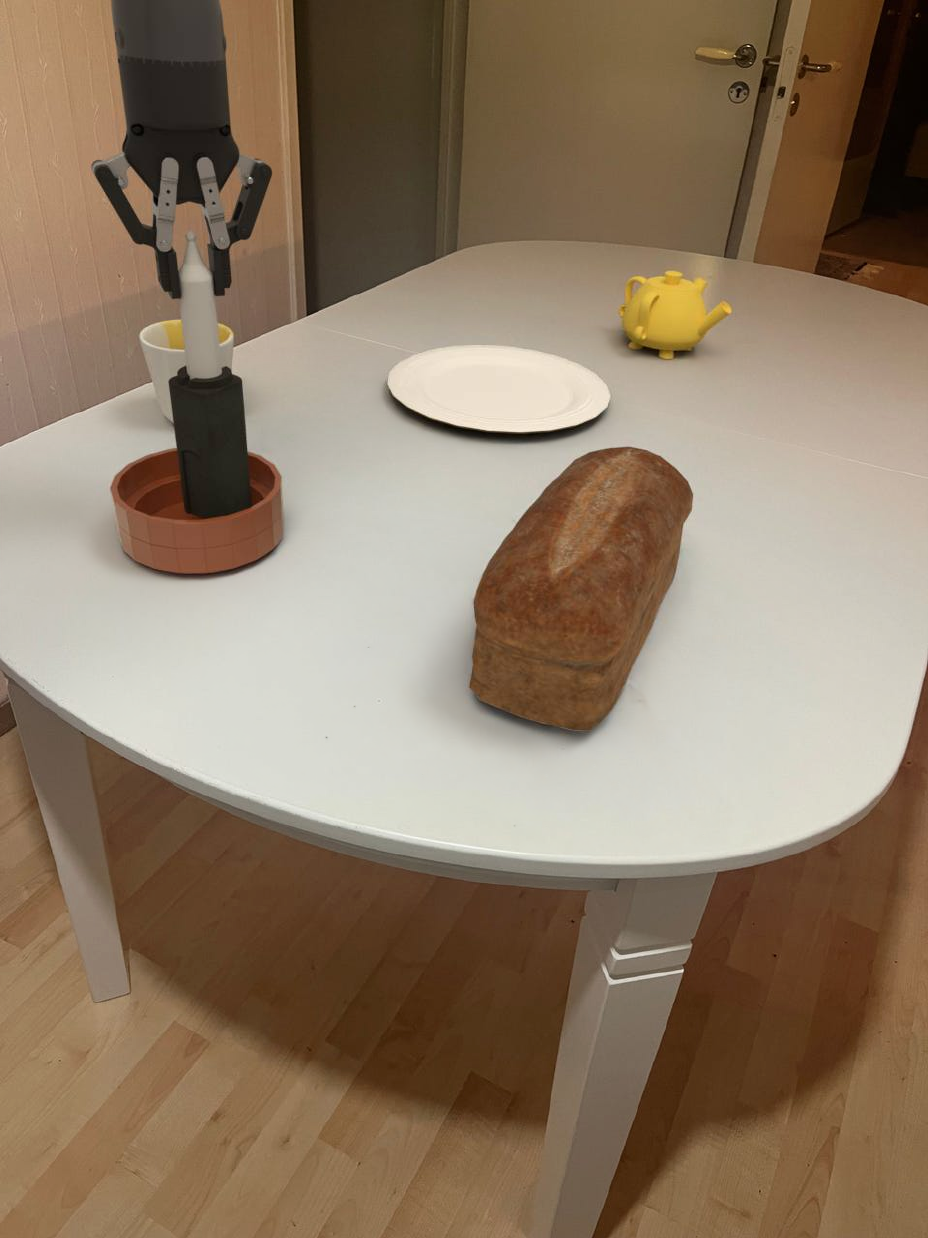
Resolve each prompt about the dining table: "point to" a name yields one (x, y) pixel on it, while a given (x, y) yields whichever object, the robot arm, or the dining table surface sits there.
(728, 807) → the dining table surface
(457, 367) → the plate
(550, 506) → the bread
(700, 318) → the teapot
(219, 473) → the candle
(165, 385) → the mug
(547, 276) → the dining table surface
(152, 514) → the bowl
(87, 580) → the dining table surface
